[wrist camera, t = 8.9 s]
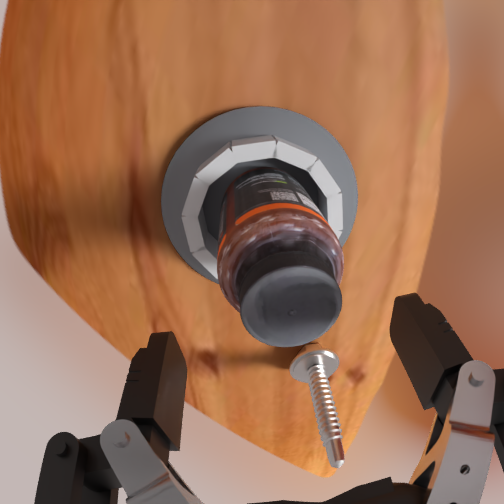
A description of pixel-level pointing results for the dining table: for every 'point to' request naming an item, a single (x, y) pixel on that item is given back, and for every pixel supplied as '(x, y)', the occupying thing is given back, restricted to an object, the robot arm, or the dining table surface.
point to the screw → (321, 395)
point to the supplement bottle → (278, 259)
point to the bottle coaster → (246, 158)
